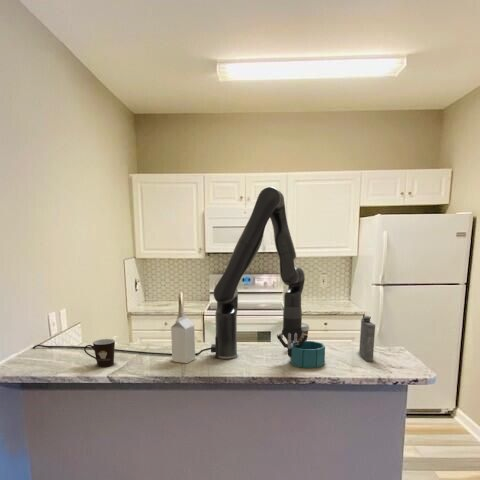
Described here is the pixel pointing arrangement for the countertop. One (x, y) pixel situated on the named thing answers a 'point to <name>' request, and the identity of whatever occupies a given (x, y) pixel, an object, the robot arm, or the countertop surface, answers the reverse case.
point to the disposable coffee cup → (305, 329)
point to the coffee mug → (103, 352)
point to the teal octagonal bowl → (308, 354)
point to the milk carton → (183, 340)
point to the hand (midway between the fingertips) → (291, 356)
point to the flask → (367, 339)
